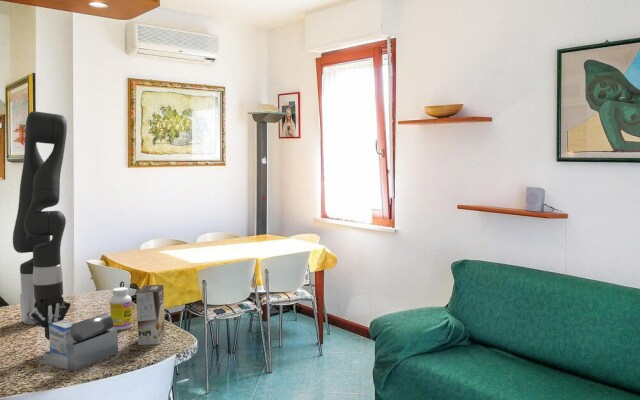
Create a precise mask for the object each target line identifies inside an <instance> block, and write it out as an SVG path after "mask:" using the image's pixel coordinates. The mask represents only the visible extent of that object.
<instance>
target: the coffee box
mask: <svg viewBox="0 0 640 400" xmlns="http://www.w3.org/2000/svg"><path fill="white" fill-rule="evenodd" d="M164 292H165V291H164V284H150V285H143V286H141V287H140V288H139V289H138V290H137V291H136V292H135V294H136V320H137V321H136V322H137V344H138V346H139V345H140V346H143V345H144V346H147V345H148V346H149V345H150V346H151V345H160V343H161V341H162V340H163V339H164V337H165V335H166V324H165V323H166V322H165V319H166V318H165V299H164V298H165V295H164Z"/></svg>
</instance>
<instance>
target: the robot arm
mask: <svg viewBox="0 0 640 400" xmlns="http://www.w3.org/2000/svg"><path fill="white" fill-rule="evenodd" d="M67 131H68V125H67V119H66V117H65V116H64V115H62V114H56V113H49V112H42V111H31V112H29V113H28V115H27V118H26V121H25V134H24V153H23V154H24V155H23V163H22V164H23V165H22V171H21V176H20V183H19V196H18V207H17V214H16V219H15V223H14V227H13V228H14V229H13V232H12V246H13V249H14V250H15V252H17V253H19V254H26V253H32V258H30V259H29V260H26V261H24V262H23V263H21V264H20V265H19V273H20V275H19V276H20V287H21V288H20V290H21V291H20V292H21V293H20V295H19V297H20V313H21V314H20V315H21V316H20V317H21V321H22V323H23V324H24V325H36V326H37V327H39V328H44V337H45V339H46V340H49V324H50V323H53V322H56V321H61V320H63V321H64V319H65V317H66V315H67V313H68V312H69V310H70V307H71V305H72V304H71V303H70V302H67V301H65V300H64V297H63V295H64V282H63V280H64V279H63V270H62V261H61V246H62V245H61V244H62V240H63V239H62V238H63V235H64V232H65V229H66V224H67V220H66V216H65V215H64V213H63V212H62V211H59V210H45V209H47V208H51V207H55V206H57V205H58V204H59V203H60V193H61V191H60V189H61V188H60V187H61V172H62V168H63V161H64V155H65V149H66V148H65V147H66V141H67V133H68V132H67ZM37 143H40V144H46V145H47V144H48V145H50V144H51V145H53V149H52V151H51V152H50V154H49V156H48V157H47V158H46V159H45V161H44V160H43V158H42V156H41V154H40V152H39V149H38V146H37ZM51 236H52V237H51Z"/></svg>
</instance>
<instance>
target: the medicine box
mask: <svg viewBox="0 0 640 400" xmlns="http://www.w3.org/2000/svg"><path fill="white" fill-rule="evenodd" d="M73 324H74V323H73V322H70V321H67V320H64V319H63V320H61V321H56V322H53V323H50V324H49V352H52V353H57V354H61V355H65V356H67V346H66V344H67V343H69V342H72V341H75V340H74V339H73V338H72V336H71V332H70V329H71V326H72V325H73Z"/></svg>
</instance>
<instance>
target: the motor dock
mask: <svg viewBox="0 0 640 400" xmlns="http://www.w3.org/2000/svg"><path fill="white" fill-rule="evenodd" d="M70 332H71V336H72V338H73V339H74V340H75V341H72V342H69V343H67V344H66V346H67V356H65V355H61V354H57V353H52V352H50V351H45V352H43V364H44V365H49V366H54V367H58V368H62V369H66V370H68V371H69V370H70V371H74V372H77V371H80V370H83V369H84V368H86V367H87V368H88V366H89V367H90V366H91V364H92V365H93V364H96V363H98V361H99V362H101V361H103V360H106V359H107V357H108V358H111V357H113V356H115V355H117V353H118V354H119V340H118V339H119V338H118V330H117V329H113V320H112V318H111V314H110V313H107V312H106V313H101V314H98V315H95V316H94V317H93V316H92V317H90V318H87V319H84V320H81V321H78V322H75V323H74V324H73V325H72V326H71V329H70ZM112 355H113V356H112ZM110 356H111V357H110ZM105 358H106V359H105ZM100 360H101V361H100ZM79 369H80V370H79Z"/></svg>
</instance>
